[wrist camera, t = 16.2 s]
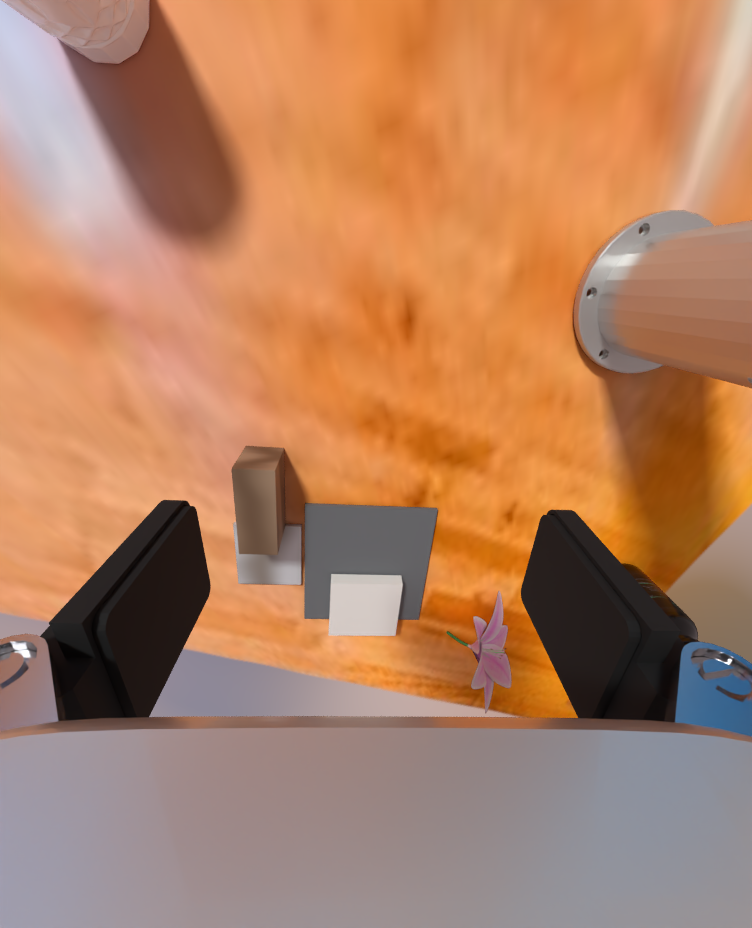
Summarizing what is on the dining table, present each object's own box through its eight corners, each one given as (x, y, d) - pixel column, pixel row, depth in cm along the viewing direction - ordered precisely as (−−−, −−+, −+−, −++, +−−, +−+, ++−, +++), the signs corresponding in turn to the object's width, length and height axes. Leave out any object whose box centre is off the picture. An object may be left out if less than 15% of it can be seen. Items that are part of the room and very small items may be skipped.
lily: (488, 655, 54) (547, 699, 45) (418, 684, 48) (470, 740, 40) (490, 573, 52) (551, 603, 44) (417, 593, 47) (471, 632, 38)
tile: (402, 584, 43) (395, 635, 46) (400, 574, 44) (393, 624, 48) (330, 583, 42) (328, 635, 45) (331, 572, 44) (329, 623, 47)
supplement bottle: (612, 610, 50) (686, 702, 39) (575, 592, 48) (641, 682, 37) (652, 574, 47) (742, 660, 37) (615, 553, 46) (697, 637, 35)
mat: (436, 508, 41) (437, 510, 41) (417, 617, 48) (418, 619, 48) (305, 503, 40) (304, 505, 40) (305, 615, 47) (304, 618, 46)
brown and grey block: (301, 448, 37) (295, 471, 33) (301, 581, 44) (296, 615, 40) (228, 444, 37) (210, 467, 32) (239, 580, 44) (226, 614, 39)
